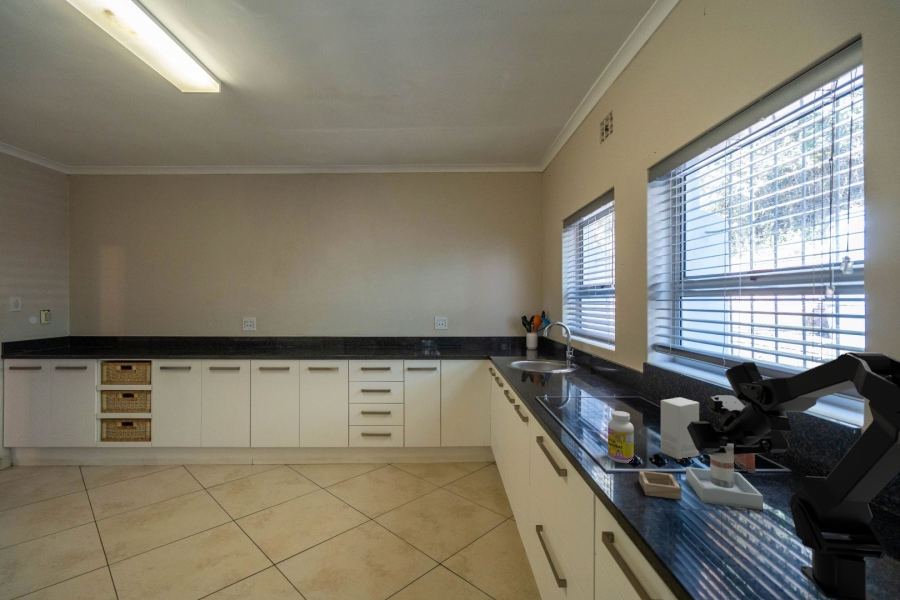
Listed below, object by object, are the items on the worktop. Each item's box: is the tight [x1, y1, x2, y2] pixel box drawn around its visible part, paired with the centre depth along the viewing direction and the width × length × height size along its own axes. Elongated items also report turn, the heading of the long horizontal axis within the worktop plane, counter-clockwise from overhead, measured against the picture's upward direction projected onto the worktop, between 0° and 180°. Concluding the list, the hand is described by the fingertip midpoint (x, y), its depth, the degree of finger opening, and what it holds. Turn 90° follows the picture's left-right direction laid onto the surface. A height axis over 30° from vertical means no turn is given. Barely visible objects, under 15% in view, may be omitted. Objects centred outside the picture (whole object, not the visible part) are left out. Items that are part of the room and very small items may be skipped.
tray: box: [685, 466, 764, 511], centre depth 87 cm, size 11×11×3 cm
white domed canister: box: [709, 444, 735, 488], centre depth 87 cm, size 4×4×10 cm
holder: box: [638, 469, 682, 500], centre depth 89 cm, size 7×7×2 cm
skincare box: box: [660, 396, 700, 460], centre depth 109 cm, size 8×7×16 cm
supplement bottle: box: [607, 410, 635, 464], centre depth 106 cm, size 7×7×13 cm
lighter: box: [734, 454, 757, 474], centre depth 102 cm, size 8×3×10 cm, turn 168°
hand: (717, 452), depth 89 cm, fingers closed on white domed canister, 4 cm apart
